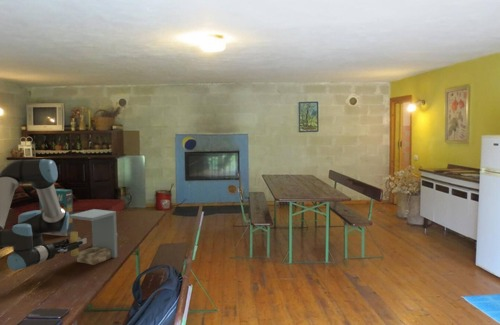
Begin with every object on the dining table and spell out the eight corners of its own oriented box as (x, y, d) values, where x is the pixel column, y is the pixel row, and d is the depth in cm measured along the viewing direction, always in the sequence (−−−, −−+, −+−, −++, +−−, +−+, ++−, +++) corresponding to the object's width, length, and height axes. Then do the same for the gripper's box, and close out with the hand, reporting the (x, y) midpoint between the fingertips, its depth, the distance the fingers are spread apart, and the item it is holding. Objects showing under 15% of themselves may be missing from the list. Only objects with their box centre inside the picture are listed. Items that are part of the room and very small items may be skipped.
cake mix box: (40, 233, 265) (38, 189, 263) (47, 231, 271) (46, 188, 268) (67, 236, 259) (65, 191, 256) (73, 233, 265) (72, 189, 262)
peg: (69, 255, 200) (68, 232, 198) (75, 253, 203) (74, 231, 202) (74, 256, 198) (73, 233, 197) (80, 254, 201) (79, 231, 200)
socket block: (77, 261, 210) (76, 252, 209) (94, 255, 221) (93, 246, 220) (93, 264, 205) (93, 255, 204) (110, 257, 216) (110, 249, 215)
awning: (71, 262, 209) (69, 215, 206) (95, 253, 224) (94, 209, 222) (93, 266, 202) (92, 218, 200) (117, 256, 218) (116, 211, 215)
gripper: (31, 258, 187) (71, 245, 209) (56, 263, 181) (95, 249, 202) (30, 243, 187) (71, 231, 208) (55, 247, 180) (94, 234, 201)
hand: (82, 240), depth 205 cm, fingers closed on peg, 3 cm apart
